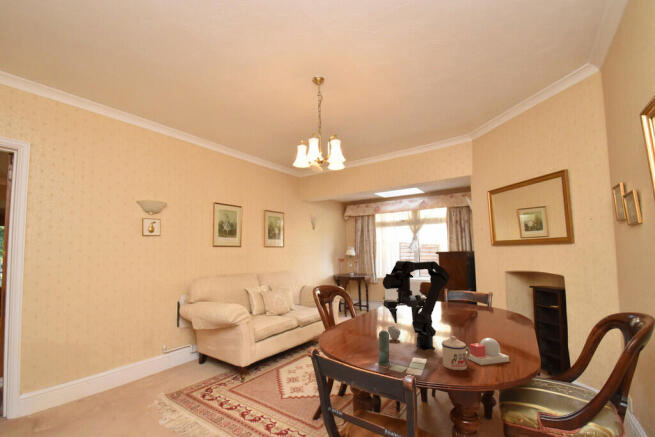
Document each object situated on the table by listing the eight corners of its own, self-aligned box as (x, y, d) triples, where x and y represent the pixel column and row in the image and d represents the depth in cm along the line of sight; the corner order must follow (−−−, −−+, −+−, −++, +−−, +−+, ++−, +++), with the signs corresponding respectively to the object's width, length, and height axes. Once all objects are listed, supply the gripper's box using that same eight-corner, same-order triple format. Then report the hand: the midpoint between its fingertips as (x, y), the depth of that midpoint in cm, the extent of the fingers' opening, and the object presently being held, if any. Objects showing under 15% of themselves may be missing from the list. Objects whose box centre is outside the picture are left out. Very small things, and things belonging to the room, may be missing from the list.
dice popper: (490, 353, 133) (489, 334, 134) (509, 361, 123) (507, 340, 124) (463, 356, 129) (462, 336, 130) (480, 365, 120) (479, 343, 121)
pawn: (389, 362, 122) (389, 329, 123) (390, 366, 117) (390, 332, 118) (377, 361, 122) (377, 328, 123) (378, 366, 117) (378, 332, 119)
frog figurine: (390, 337, 159) (390, 323, 160) (403, 339, 155) (402, 325, 156) (385, 339, 155) (385, 325, 156) (397, 342, 150) (397, 327, 151)
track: (422, 357, 128) (422, 356, 128) (448, 373, 112) (448, 372, 112) (371, 363, 122) (371, 361, 122) (391, 381, 106) (391, 379, 106)
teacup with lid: (452, 373, 112) (451, 340, 114) (437, 364, 121) (436, 334, 122) (479, 369, 116) (477, 338, 117) (462, 361, 124) (461, 332, 125)
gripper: (393, 290, 129) (394, 328, 127) (431, 289, 133) (433, 325, 132) (382, 287, 139) (383, 322, 138) (418, 286, 144) (419, 319, 142)
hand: (405, 322), depth 137 cm, fingers open, 9 cm apart
